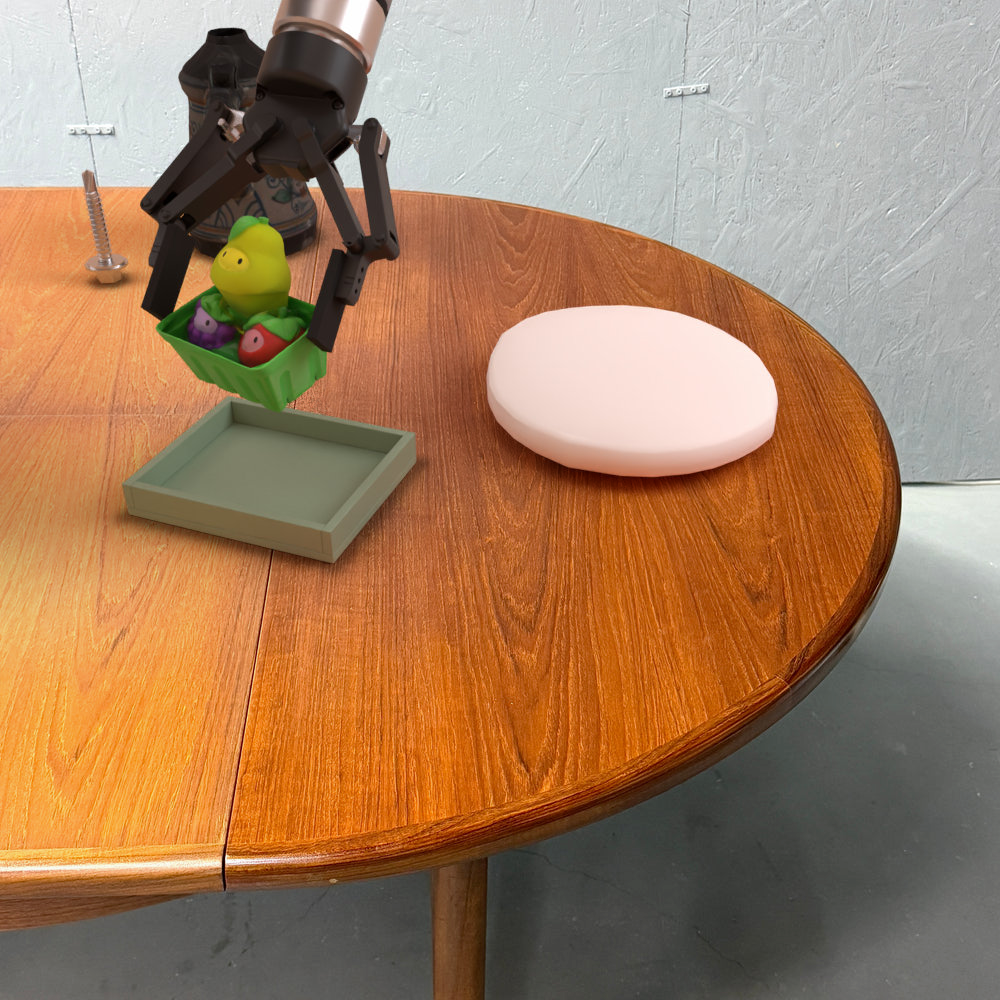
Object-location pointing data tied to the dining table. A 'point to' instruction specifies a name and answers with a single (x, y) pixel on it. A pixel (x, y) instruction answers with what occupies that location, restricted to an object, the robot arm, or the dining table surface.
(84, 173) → the screw
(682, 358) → the pale pink round cushion
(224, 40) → the dark brown tall vessel
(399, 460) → the tray
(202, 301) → the fruit basket
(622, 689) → the dining table surface
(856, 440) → the dining table surface
